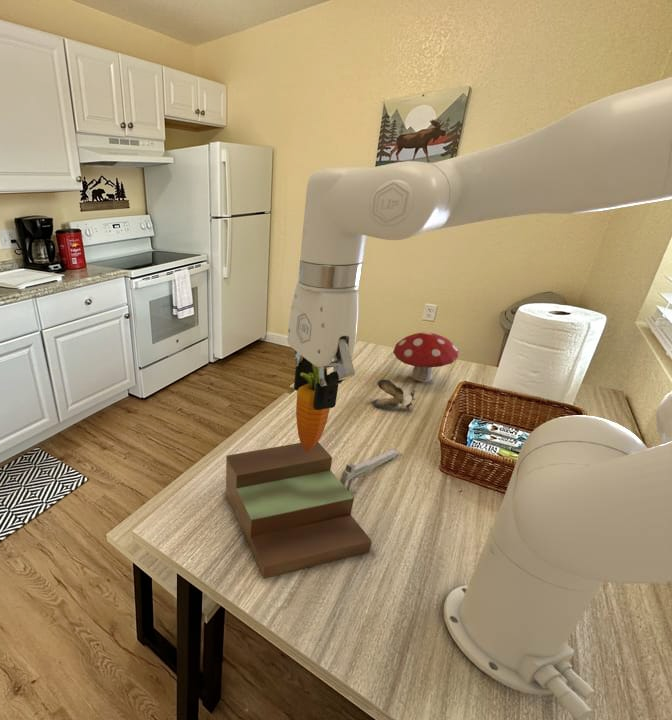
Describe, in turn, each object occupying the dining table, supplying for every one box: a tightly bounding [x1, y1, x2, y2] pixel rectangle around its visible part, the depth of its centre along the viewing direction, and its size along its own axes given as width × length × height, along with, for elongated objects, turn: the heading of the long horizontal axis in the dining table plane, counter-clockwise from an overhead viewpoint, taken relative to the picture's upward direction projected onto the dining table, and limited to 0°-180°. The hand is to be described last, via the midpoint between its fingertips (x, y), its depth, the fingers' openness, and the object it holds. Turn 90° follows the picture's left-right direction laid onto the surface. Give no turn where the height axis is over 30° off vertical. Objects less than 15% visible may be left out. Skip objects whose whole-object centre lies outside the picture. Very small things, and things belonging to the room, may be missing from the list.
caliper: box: [339, 448, 400, 492], centre depth 76 cm, size 20×1×6 cm, turn 127°
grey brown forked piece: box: [371, 378, 416, 411], centre depth 99 cm, size 8×7×9 cm
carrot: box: [295, 364, 331, 451], centre depth 58 cm, size 5×5×15 cm
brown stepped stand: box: [225, 441, 373, 579], centre depth 65 cm, size 18×18×9 cm
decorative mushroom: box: [392, 332, 460, 383], centre depth 110 cm, size 16×16×15 cm
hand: (313, 396), depth 57 cm, fingers closed on carrot, 5 cm apart
